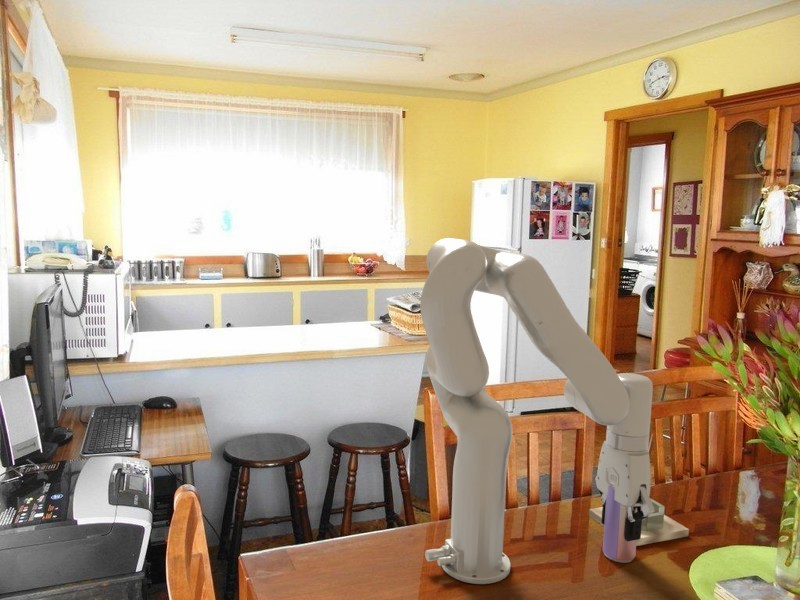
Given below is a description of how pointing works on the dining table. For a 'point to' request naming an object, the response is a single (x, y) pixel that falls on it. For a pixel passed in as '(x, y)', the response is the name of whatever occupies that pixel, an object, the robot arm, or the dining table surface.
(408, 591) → the dining table surface
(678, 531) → the can holder
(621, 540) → the beverage can
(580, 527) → the dining table surface
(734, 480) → the dining table surface
